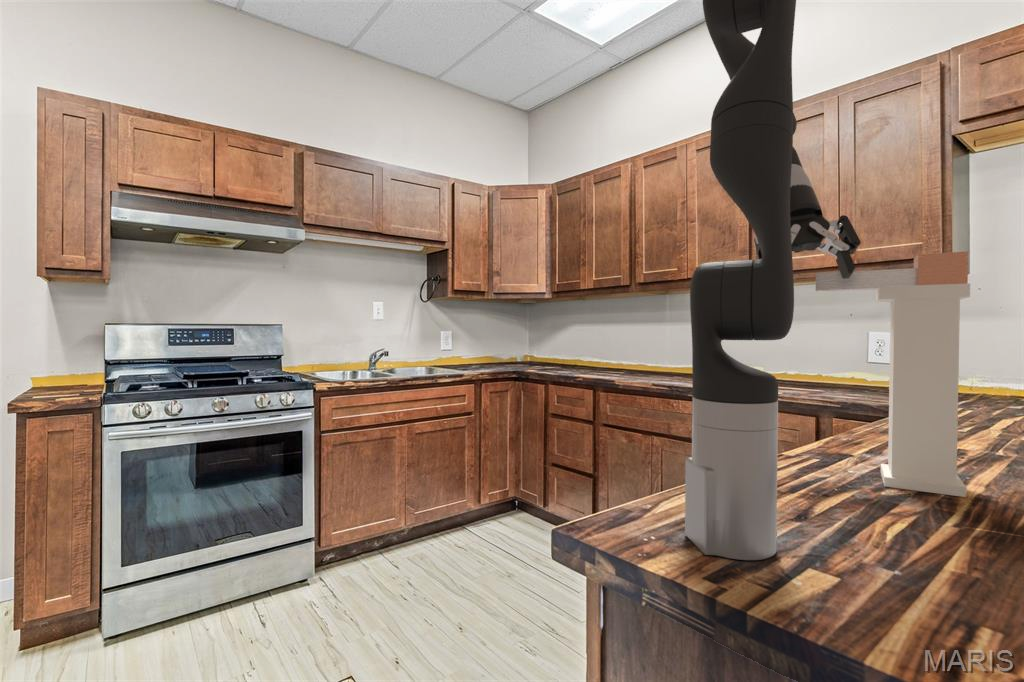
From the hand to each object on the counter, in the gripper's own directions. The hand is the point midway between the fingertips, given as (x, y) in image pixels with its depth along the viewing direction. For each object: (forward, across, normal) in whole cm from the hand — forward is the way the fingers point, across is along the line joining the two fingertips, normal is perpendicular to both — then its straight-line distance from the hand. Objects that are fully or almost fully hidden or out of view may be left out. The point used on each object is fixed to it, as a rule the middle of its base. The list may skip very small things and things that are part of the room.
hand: (818, 279), depth 80 cm
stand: (+28, +13, +22) cm, 38 cm away
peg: (-2, +14, +9) cm, 17 cm away
